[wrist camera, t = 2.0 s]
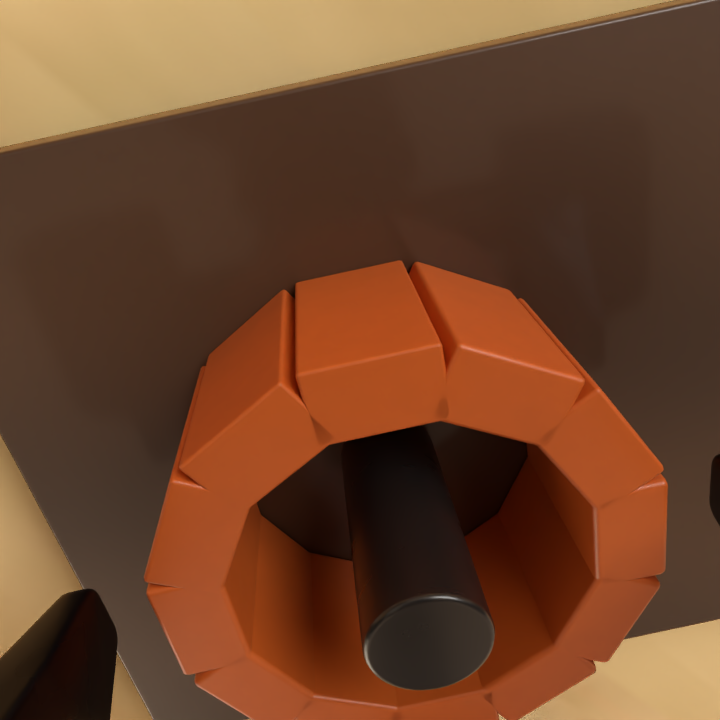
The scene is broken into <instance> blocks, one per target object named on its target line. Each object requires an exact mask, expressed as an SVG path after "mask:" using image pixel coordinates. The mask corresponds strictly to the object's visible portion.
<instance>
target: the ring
mask: <svg viewBox="0 0 720 720" xmlns="http://www.w3.org/2000/svg"><path fill="white" fill-rule="evenodd" d="M438 421H443V422H446V423H450V424H454V425H458V426H462V427H466V428H470V429H474V430H478V431H482V432H486V433H490V434H494V435H497V436H501V437H505V438H509V439H513V440H517V441H521V442H525V443H527V452H528V457H527V459H526V461H525V463H524V465H523V466H522V468H521V470H520V472H519V474H518V476H517V478H516V480H515V482H514V483H513V485H512V487H511V489H510V491H509V493H508V495H507V497H506V499H505V500H504V502H503V504H502V506H501V508H500V510H499V512H498V513H497V514H496V515H494V516H493V517H491V518H490V519H489V520H487V521H486V522H484V523H483V524H482V525H480V526H479V527H477V528H476V529H474V530H473V531H472V532H470V533H469V534H467V535H466V536H465V540H466V543H467V546H468V549H469V552H470V555H471V558H472V561H473V564H474V567H475V569H476V572H477V575H478V578H479V581H480V584H481V587H482V590H483V593H484V596H485V599H486V602H487V605H488V608H489V611H490V614H491V617H492V620H493V623H494V627H495V639H494V645H493V648H492V651H491V653H490V655H489V657H488V658H487V660H486V661H485V662H484V664H483V665H482V666H481V667H480V668H479V669H478V670H476V671H475V672H474V673H473V674H471V675H470V676H468V677H467V678H465V679H463V680H461V681H459V682H457V683H455V684H452V685H449V686H446V687H442V688H438V689H432V690H407V689H402V688H398V687H395V686H392V685H390V684H388V683H385V682H384V681H382V680H381V679H379V678H378V677H377V676H376V675H375V674H374V673H373V672H372V671H371V669H370V668H369V666H368V665H367V663H366V661H365V659H364V656H363V651H362V643H361V634H360V625H359V616H358V607H357V598H356V589H355V580H354V571H353V562H352V561H350V560H345V559H340V558H335V557H330V556H325V555H320V554H314V553H309V552H308V551H307V550H305V549H304V548H303V547H302V546H300V545H299V544H298V543H296V542H295V541H294V540H293V539H291V538H290V537H289V536H288V535H286V534H285V533H284V532H282V531H281V530H280V529H279V528H277V527H276V526H275V525H273V524H272V523H271V522H270V521H268V520H267V519H266V518H265V517H263V516H262V515H261V514H260V511H259V508H258V505H257V502H258V501H259V500H261V499H262V498H263V497H264V496H266V495H267V494H268V493H269V492H271V491H272V490H273V489H274V488H276V487H277V486H278V485H279V484H281V483H282V482H283V481H284V480H286V479H287V478H288V477H290V476H291V475H292V474H293V473H295V472H296V471H297V470H298V469H300V468H301V467H302V466H303V465H305V464H306V463H307V462H308V461H310V460H311V459H312V458H313V457H315V456H316V455H317V454H318V453H320V452H321V451H322V450H324V449H325V448H326V447H327V446H329V445H331V444H336V443H340V442H345V441H350V440H354V439H359V438H364V437H368V436H373V435H378V434H382V433H387V432H392V431H396V430H401V429H406V428H410V427H415V426H420V425H424V424H429V423H433V422H438ZM663 470H664V469H663V465H662V464H661V462H660V461H659V460H658V459H657V457H656V456H655V455H654V454H653V453H652V451H651V450H650V449H649V448H648V446H647V445H646V444H645V443H644V441H643V440H642V439H641V438H640V436H639V435H638V434H637V433H636V431H635V430H634V429H633V428H632V427H631V425H630V424H629V423H628V422H627V420H626V419H625V418H624V417H623V415H622V414H621V413H620V412H619V410H618V409H617V408H616V407H615V405H614V404H613V403H612V402H611V401H610V399H609V398H608V397H607V396H606V394H605V393H604V392H603V391H602V389H601V388H600V387H599V386H598V385H597V384H596V382H595V381H594V380H593V379H592V378H591V377H590V376H589V374H588V373H587V372H586V371H585V370H584V369H583V367H582V366H581V365H580V364H579V363H578V362H577V361H576V359H575V358H574V357H573V356H572V355H571V354H570V352H569V351H568V350H567V349H566V348H565V347H564V346H563V344H562V343H561V342H560V341H559V340H558V339H557V337H556V336H555V335H554V334H553V333H552V332H551V331H550V329H549V328H548V327H547V326H546V325H545V324H544V322H543V321H542V320H541V319H540V318H539V317H538V316H537V314H536V313H535V312H534V311H533V310H532V309H531V308H530V306H529V305H528V304H527V303H526V302H525V301H524V299H521V298H519V299H517V298H516V297H515V296H514V295H513V294H512V292H511V291H510V290H508V289H505V288H501V287H498V286H495V285H492V284H488V283H485V282H482V281H479V280H476V279H472V278H469V277H466V276H463V275H459V274H456V273H453V272H450V271H447V270H443V269H440V268H437V267H434V266H430V265H427V264H424V263H421V262H415V263H414V264H413V265H412V268H411V270H410V273H409V274H408V272H407V270H406V268H405V266H404V264H403V262H402V261H400V260H398V261H394V262H389V263H384V264H380V265H375V266H370V267H366V268H361V269H357V270H352V271H347V272H343V273H338V274H333V275H329V276H324V277H320V278H315V279H310V280H306V281H301V282H297V283H296V284H295V299H294V298H293V297H292V296H291V295H290V294H289V293H288V292H287V291H286V290H281V291H280V292H279V293H278V294H277V295H276V296H275V297H273V298H272V299H271V300H270V301H269V302H268V303H267V304H266V305H264V306H263V307H262V308H261V309H260V310H259V311H258V312H257V313H255V314H254V315H253V316H252V317H251V318H250V319H249V320H248V321H246V322H245V323H244V324H243V325H242V326H241V327H240V328H239V329H237V330H236V331H235V332H234V333H233V334H232V335H231V336H230V337H228V338H227V339H226V340H225V341H224V342H223V343H222V344H221V345H219V346H218V347H217V348H216V349H215V350H214V351H213V352H212V353H210V354H209V356H208V360H207V364H206V366H202V368H201V369H200V373H199V376H198V380H197V384H196V387H195V391H194V394H193V398H192V401H191V405H190V409H189V412H188V416H187V419H186V423H185V426H184V430H183V434H182V437H181V441H180V444H179V448H178V451H177V455H176V459H175V462H174V466H173V469H172V473H171V477H170V480H169V484H168V488H167V491H166V495H165V499H164V503H163V506H162V510H161V514H160V518H159V521H158V525H157V529H156V533H155V537H154V540H153V544H152V548H151V552H150V555H149V559H148V563H147V567H146V570H145V574H144V580H145V582H147V583H148V587H147V591H146V595H147V597H148V599H149V602H150V604H151V606H152V608H153V610H154V612H155V614H156V616H157V618H158V620H159V623H160V625H161V627H162V629H163V631H164V633H165V635H166V637H167V639H168V642H169V644H170V646H171V648H172V650H173V652H174V654H175V656H176V658H177V660H178V663H179V665H180V667H181V669H182V671H183V673H184V674H185V675H191V674H195V679H194V681H195V684H196V685H197V687H199V688H201V689H202V690H204V691H206V692H207V693H209V694H211V695H212V696H214V697H216V698H217V699H219V700H221V701H222V702H224V703H225V704H227V705H229V706H230V707H232V708H234V709H235V710H237V711H239V712H240V713H242V714H244V715H245V716H247V717H248V718H250V719H252V720H499V716H498V713H499V714H500V715H501V716H503V717H504V718H505V719H507V720H518V719H520V718H521V717H523V716H525V715H526V714H528V713H530V712H531V711H533V710H535V709H536V708H538V707H540V706H541V705H543V704H544V703H546V702H548V701H549V700H551V699H553V698H554V697H556V696H558V695H559V694H561V693H563V692H564V691H566V690H567V689H569V688H571V687H572V686H574V685H576V684H577V683H579V682H581V681H582V680H584V679H586V678H587V677H589V676H590V675H592V674H594V673H595V671H596V667H595V664H594V662H593V660H594V661H600V662H607V661H609V660H610V658H611V657H612V655H613V654H614V652H615V651H616V650H617V648H618V647H619V645H620V644H621V642H622V641H623V639H624V638H625V637H626V635H627V634H628V632H629V631H630V629H631V628H632V627H633V625H634V624H635V622H636V621H637V619H638V618H639V617H640V615H641V614H642V612H643V611H644V609H645V608H646V606H647V605H648V604H649V602H650V601H651V599H652V598H653V596H654V595H655V594H656V592H657V591H658V589H659V588H660V582H659V580H658V579H657V577H656V576H655V575H659V574H662V573H663V572H664V571H665V568H666V532H667V495H668V484H667V481H666V479H665V478H664V477H663V476H662V474H661V473H662V472H663Z"/></svg>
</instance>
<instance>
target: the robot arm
mask: <svg viewBox="0 0 720 720" xmlns="http://www.w3.org/2000/svg"><path fill="white" fill-rule="evenodd" d="M709 503H710V508H711V511H712V513H713V516H714V518H715V519H716V521H717V523H718V524H719V526H720V454H718V455H716V456H715V457H714V458H713V460H712V464H711V478H710V493H709ZM117 646H118V636H117V631H116V627H115V625H114V623H113V621H112V619H111V617H110V615H109V613H108V611H107V609H106V607H105V605H104V604H103V602H102V600H101V598H100V596H99V594H98V593H97V592H96V591H95V590H94V589H90V588H88V589H83V590H78V591H74V592H69V593H66V594H64V595H62V596H61V597H60V598H59V599H58V600H57V601H56V602H55V603H54V604H53V605H52V606H51V607H50V608H49V609H48V610H47V611H46V612H45V613H44V614H43V615H42V616H41V617H40V618H39V619H38V620H37V621H36V622H35V623H34V624H33V626H32V627H31V628H30V629H29V630H28V631H27V632H26V633H25V634H24V635H23V636H22V637H21V638H20V639H19V640H18V641H17V642H16V643H15V644H14V645H13V646H12V647H11V648H10V649H9V650H8V651H7V652H6V653H5V654H4V655H3V656H2V657H1V658H0V720H110V714H111V704H112V694H113V684H114V675H115V665H116V655H117Z"/></svg>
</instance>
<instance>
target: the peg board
mask: <svg viewBox="0 0 720 720" xmlns="http://www.w3.org/2000/svg"><path fill="white" fill-rule="evenodd" d="M398 260H400V261H402V262H403V264H404V266H405V268H406V270H407V272H408V274H409V273H410V270H411V268H412V265H413V264H414V263H415V262H421V263H424V264H427V265H430V266H434V267H437V268H440V269H443V270H447V271H450V272H453V273H456V274H459V275H463V276H466V277H469V278H472V279H476V280H479V281H482V282H485V283H488V284H492V285H495V286H498V287H501V288H505V289H508V290H510V291H511V292H512V294H513V295H514V296H515V297H516V298H517V299H519V298H521V299H524V301H525V302H526V303H527V304H528V305H529V306H530V308H531V309H532V310H533V311H534V312H535V313H536V314H537V316H538V317H539V318H540V319H541V320H542V321H543V322H544V324H545V325H546V326H547V327H548V328H549V329H550V331H551V332H552V333H553V334H554V335H555V336H556V337H557V339H558V340H559V341H560V342H561V343H562V344H563V346H564V347H565V348H566V349H567V350H568V351H569V352H570V354H571V355H572V356H573V357H574V358H575V359H576V361H577V362H578V363H579V364H580V365H581V366H582V367H583V369H584V370H585V371H586V372H587V373H588V374H589V376H590V377H591V378H592V379H593V380H594V381H595V382H596V384H597V385H598V386H599V387H600V388H601V389H602V391H603V392H604V393H605V394H606V396H607V397H608V398H609V399H610V401H611V402H612V403H613V404H614V405H615V407H616V408H617V409H618V410H619V412H620V413H621V414H622V415H623V417H624V418H625V419H626V420H627V422H628V423H629V424H630V425H631V427H632V428H633V429H634V430H635V431H636V433H637V434H638V435H639V436H640V438H641V439H642V440H643V441H644V443H645V444H646V445H647V446H648V448H649V449H650V450H651V451H652V453H653V454H654V455H655V456H656V457H657V459H658V460H659V461H660V462H661V464H662V465H663V469H664V470H663V472H662V473H661V474H662V476H663V477H664V478H665V479H666V481H667V484H668V495H667V532H666V568H665V571H664V572H663V573H662V574H659V575H655V576H656V577H657V579H658V580H659V582H660V588H659V589H658V591H657V592H656V594H655V595H654V596H653V598H652V599H651V601H650V602H649V604H648V605H647V606H646V608H645V609H644V611H643V612H642V614H641V615H640V617H639V618H638V619H637V621H636V622H635V624H634V625H633V627H632V628H631V629H630V631H629V632H628V634H627V635H626V637H625V638H624V639H628V638H633V637H637V636H642V635H647V634H651V633H656V632H661V631H666V630H670V629H675V628H680V627H684V626H689V625H694V624H699V623H703V622H708V621H713V620H717V619H720V526H719V524H718V523H717V521H716V519H715V518H714V516H713V513H712V511H711V508H710V503H709V493H710V478H711V464H712V460H713V458H714V457H715V456H716V455H718V454H720V0H674V1H670V2H665V3H661V4H656V5H652V6H647V7H642V8H638V9H633V10H629V11H624V12H619V13H615V14H610V15H606V16H601V17H597V18H592V19H587V20H583V21H578V22H574V23H569V24H564V25H560V26H555V27H551V28H546V29H542V30H537V31H532V32H528V33H523V34H519V35H514V36H509V37H505V38H500V39H496V40H491V41H487V42H482V43H477V44H473V45H468V46H464V47H459V48H454V49H450V50H445V51H441V52H436V53H432V54H427V55H422V56H418V57H413V58H409V59H404V60H399V61H395V62H390V63H386V64H381V65H377V66H372V67H367V68H363V69H358V70H354V71H349V72H344V73H340V74H335V75H331V76H326V77H322V78H317V79H312V80H308V81H303V82H299V83H294V84H289V85H285V86H280V87H276V88H271V89H267V90H262V91H257V92H253V93H248V94H244V95H239V96H234V97H230V98H225V99H221V100H216V101H212V102H207V103H202V104H198V105H193V106H189V107H184V108H179V109H175V110H170V111H166V112H161V113H157V114H152V115H147V116H143V117H138V118H134V119H129V120H124V121H120V122H115V123H111V124H106V125H102V126H97V127H92V128H88V129H83V130H79V131H74V132H69V133H65V134H60V135H56V136H51V137H47V138H42V139H37V140H33V141H28V142H24V143H19V144H14V145H10V146H5V147H1V148H0V434H1V436H2V438H3V440H4V442H5V444H6V446H7V447H8V449H9V451H10V453H11V455H12V457H13V459H14V461H15V462H16V464H17V466H18V468H19V470H20V472H21V474H22V476H23V477H24V479H25V481H26V483H27V485H28V487H29V489H30V491H31V492H32V494H33V496H34V498H35V500H36V502H37V504H38V506H39V507H40V509H41V511H42V513H43V515H44V517H45V519H46V520H47V522H48V524H49V526H50V528H51V530H52V532H53V534H54V535H55V537H56V539H57V541H58V543H59V545H60V547H61V549H62V550H63V552H64V554H65V556H66V558H67V560H68V562H69V564H70V565H71V567H72V569H73V571H74V573H75V575H76V577H77V579H78V580H79V582H80V584H81V586H82V588H83V589H88V588H90V589H94V590H95V591H96V592H97V593H98V594H99V596H100V598H101V600H102V602H103V604H104V605H105V607H106V609H107V611H108V613H109V615H110V617H111V619H112V621H113V623H114V625H115V627H116V631H117V636H118V646H117V653H118V655H119V657H120V659H121V661H122V663H123V665H124V667H125V668H126V670H127V672H128V674H129V676H130V678H131V680H132V682H133V683H134V685H135V687H136V689H137V691H138V693H139V695H140V696H141V698H142V700H143V702H144V704H145V706H146V708H147V710H148V711H149V713H150V715H151V717H152V719H153V720H246V719H250V718H248V717H247V716H245V715H244V714H242V713H240V712H239V711H237V710H235V709H234V708H232V707H230V706H229V705H227V704H225V703H224V702H222V701H221V700H219V699H217V698H216V697H214V696H212V695H211V694H209V693H207V692H206V691H204V690H202V689H201V688H199V687H197V685H196V684H195V681H194V679H195V674H191V675H185V674H184V673H183V671H182V669H181V667H180V665H179V663H178V660H177V658H176V656H175V654H174V652H173V650H172V648H171V646H170V644H169V642H168V639H167V637H166V635H165V633H164V631H163V629H162V627H161V625H160V623H159V620H158V618H157V616H156V614H155V612H154V610H153V608H152V606H151V604H150V602H149V599H148V597H147V595H146V591H147V587H148V583H147V582H145V580H144V574H145V570H146V567H147V563H148V559H149V555H150V552H151V548H152V544H153V540H154V537H155V533H156V529H157V525H158V521H159V518H160V514H161V510H162V506H163V503H164V499H165V495H166V491H167V488H168V484H169V480H170V477H171V473H172V469H173V466H174V462H175V459H176V455H177V451H178V448H179V444H180V441H181V437H182V434H183V430H184V426H185V423H186V419H187V416H188V412H189V409H190V405H191V401H192V398H193V394H194V391H195V387H196V384H197V380H198V376H199V373H200V369H201V368H202V366H206V364H207V360H208V356H209V354H210V353H212V352H213V351H214V350H215V349H216V348H217V347H218V346H219V345H221V344H222V343H223V342H224V341H225V340H226V339H227V338H228V337H230V336H231V335H232V334H233V333H234V332H235V331H236V330H237V329H239V328H240V327H241V326H242V325H243V324H244V323H245V322H246V321H248V320H249V319H250V318H251V317H252V316H253V315H254V314H255V313H257V312H258V311H259V310H260V309H261V308H262V307H263V306H264V305H266V304H267V303H268V302H269V301H270V300H271V299H272V298H273V297H275V296H276V295H277V294H278V293H279V292H280V291H281V290H286V291H287V292H288V293H289V294H290V295H291V296H292V297H293V298H294V299H295V284H296V283H297V282H301V281H306V280H310V279H315V278H320V277H324V276H329V275H333V274H338V273H343V272H347V271H352V270H357V269H361V268H366V267H370V266H375V265H380V264H384V263H389V262H394V261H398ZM527 457H528V452H527V443H525V442H521V441H517V440H513V439H509V438H505V437H501V436H497V435H494V434H490V433H486V432H482V431H478V430H474V429H470V428H466V427H462V426H458V425H454V424H450V423H446V422H443V421H438V422H433V423H429V424H424V425H420V426H415V427H410V428H406V429H401V430H396V431H392V432H387V433H382V434H378V435H373V436H368V437H364V438H359V439H354V440H350V441H345V442H340V443H336V444H331V445H329V446H327V447H326V448H325V449H324V450H322V451H321V452H320V453H318V454H317V455H316V456H315V457H313V458H312V459H311V460H310V461H308V462H307V463H306V464H305V465H303V466H302V467H301V468H300V469H298V470H297V471H296V472H295V473H293V474H292V475H291V476H290V477H288V478H287V479H286V480H284V481H283V482H282V483H281V484H279V485H278V486H277V487H276V488H274V489H273V490H272V491H271V492H269V493H268V494H267V495H266V496H264V497H263V498H262V499H261V500H259V501H258V502H257V505H258V508H259V511H260V514H261V515H262V516H263V517H265V518H266V519H267V520H268V521H270V522H271V523H272V524H273V525H275V526H276V527H277V528H279V529H280V530H281V531H282V532H284V533H285V534H286V535H288V536H289V537H290V538H291V539H293V540H294V541H295V542H296V543H298V544H299V545H300V546H302V547H303V548H304V549H305V550H307V551H308V552H309V553H314V554H320V555H325V556H330V557H335V558H340V559H345V560H350V561H352V562H353V571H354V580H355V589H356V598H357V607H358V616H359V625H360V634H361V643H362V651H363V656H364V659H365V661H366V663H367V665H368V666H369V668H370V669H371V671H372V672H373V673H374V674H375V675H376V676H377V677H378V678H379V679H381V680H382V681H384V682H385V683H388V684H390V685H392V686H395V687H398V688H402V689H407V690H432V689H438V688H442V687H446V686H449V685H452V684H455V683H457V682H459V681H461V680H463V679H465V678H467V677H468V676H470V675H471V674H473V673H474V672H475V671H476V670H478V669H479V668H480V667H481V666H482V665H483V664H484V662H485V661H486V660H487V658H488V657H489V655H490V653H491V651H492V648H493V645H494V639H495V627H494V623H493V620H492V617H491V614H490V611H489V608H488V605H487V602H486V599H485V596H484V593H483V590H482V587H481V584H480V581H479V578H478V575H477V572H476V569H475V567H474V564H473V561H472V558H471V555H470V552H469V549H468V546H467V543H466V540H465V536H466V535H467V534H469V533H470V532H472V531H473V530H474V529H476V528H477V527H479V526H480V525H482V524H483V523H484V522H486V521H487V520H489V519H490V518H491V517H493V516H494V515H496V514H497V513H498V512H499V510H500V508H501V506H502V504H503V502H504V500H505V499H506V497H507V495H508V493H509V491H510V489H511V487H512V485H513V483H514V482H515V480H516V478H517V476H518V474H519V472H520V470H521V468H522V466H523V465H524V463H525V461H526V459H527Z"/></svg>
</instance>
